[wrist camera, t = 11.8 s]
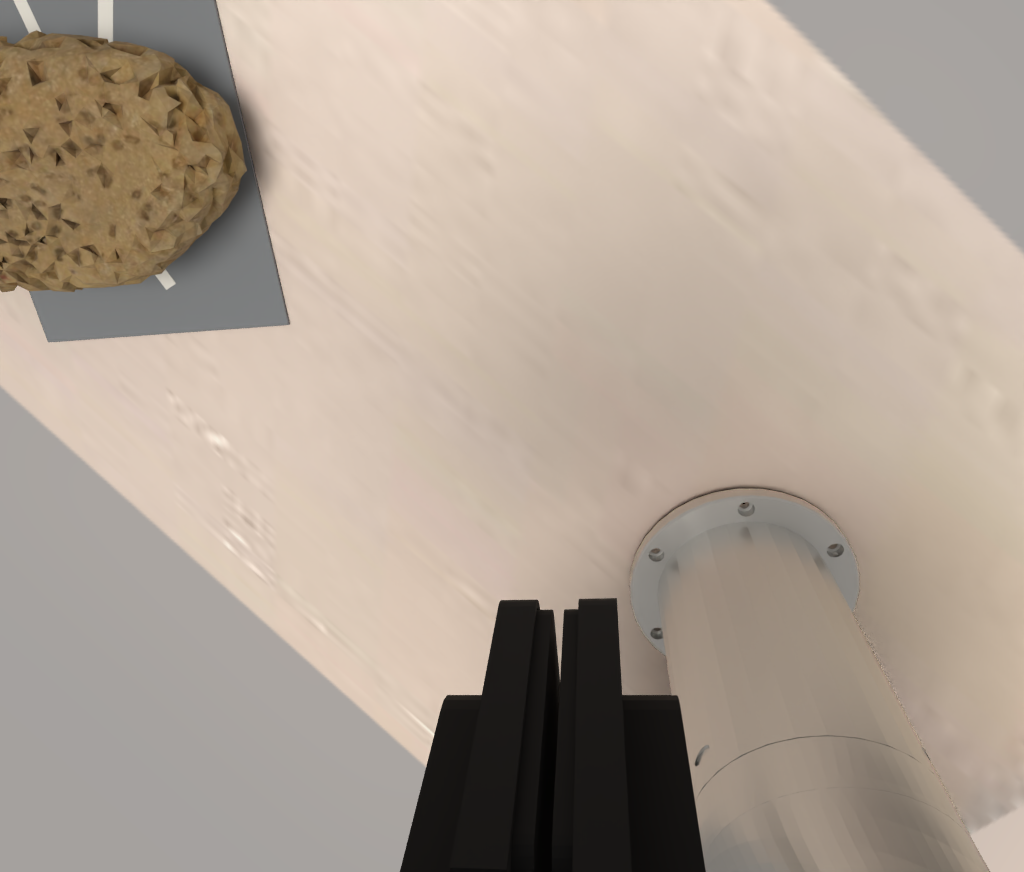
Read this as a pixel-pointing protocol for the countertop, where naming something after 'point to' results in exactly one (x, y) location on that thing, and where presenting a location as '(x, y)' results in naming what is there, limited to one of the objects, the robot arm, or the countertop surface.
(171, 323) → the mat
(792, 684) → the robot arm
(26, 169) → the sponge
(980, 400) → the countertop surface
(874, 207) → the countertop surface
